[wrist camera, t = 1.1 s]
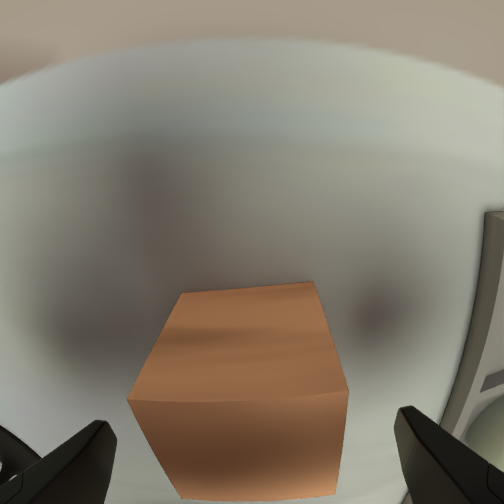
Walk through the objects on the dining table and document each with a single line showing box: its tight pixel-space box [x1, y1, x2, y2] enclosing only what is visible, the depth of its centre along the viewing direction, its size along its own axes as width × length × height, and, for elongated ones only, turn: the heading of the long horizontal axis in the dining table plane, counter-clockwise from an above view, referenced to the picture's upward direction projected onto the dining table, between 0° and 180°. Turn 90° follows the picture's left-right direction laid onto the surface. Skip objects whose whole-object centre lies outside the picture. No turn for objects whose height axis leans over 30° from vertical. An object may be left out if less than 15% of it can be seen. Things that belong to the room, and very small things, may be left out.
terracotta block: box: [127, 281, 349, 501], centre depth 10 cm, size 5×5×6 cm
